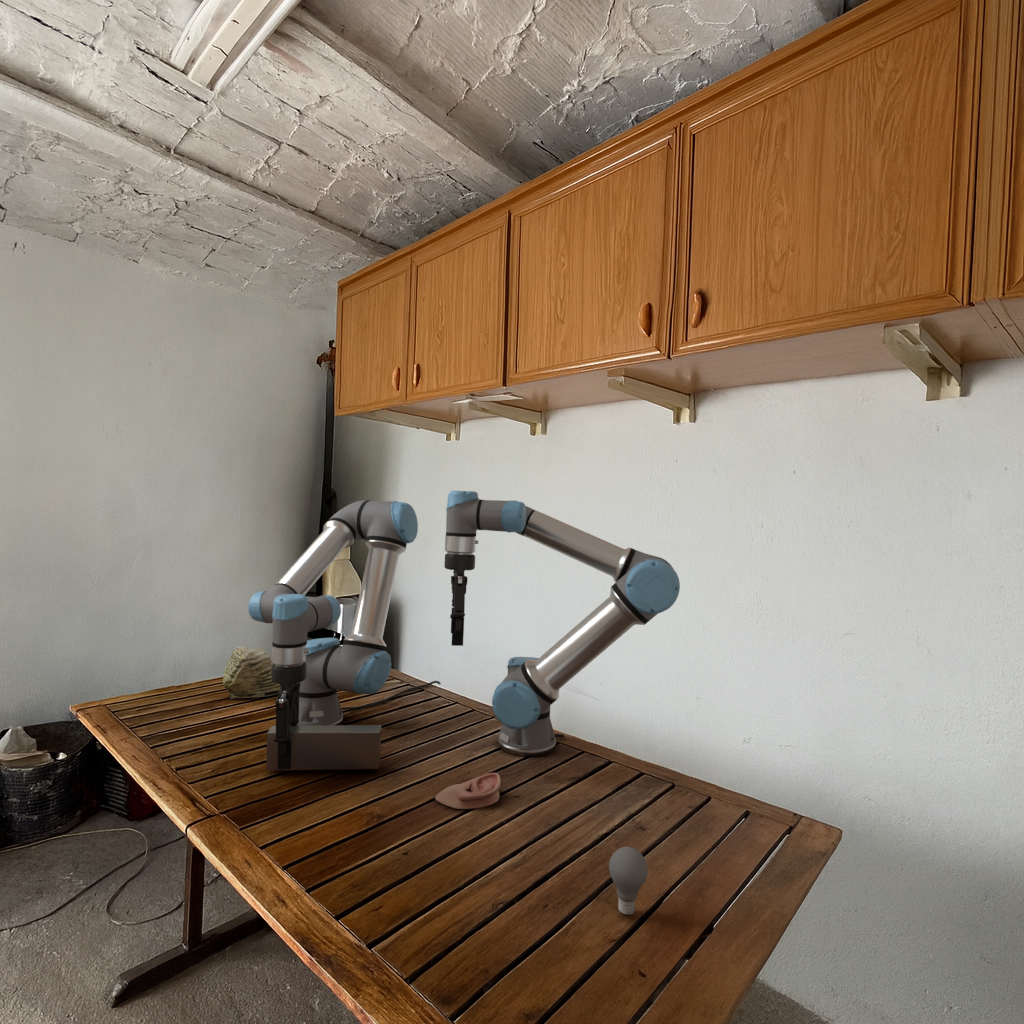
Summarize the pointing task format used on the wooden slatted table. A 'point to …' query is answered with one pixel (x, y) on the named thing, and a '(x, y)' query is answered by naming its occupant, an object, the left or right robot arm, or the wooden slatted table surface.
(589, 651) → the right robot arm
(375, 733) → the bar
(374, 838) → the wooden slatted table surface
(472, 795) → the anatomical model
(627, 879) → the light bulb
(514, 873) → the wooden slatted table surface
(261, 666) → the fossil
